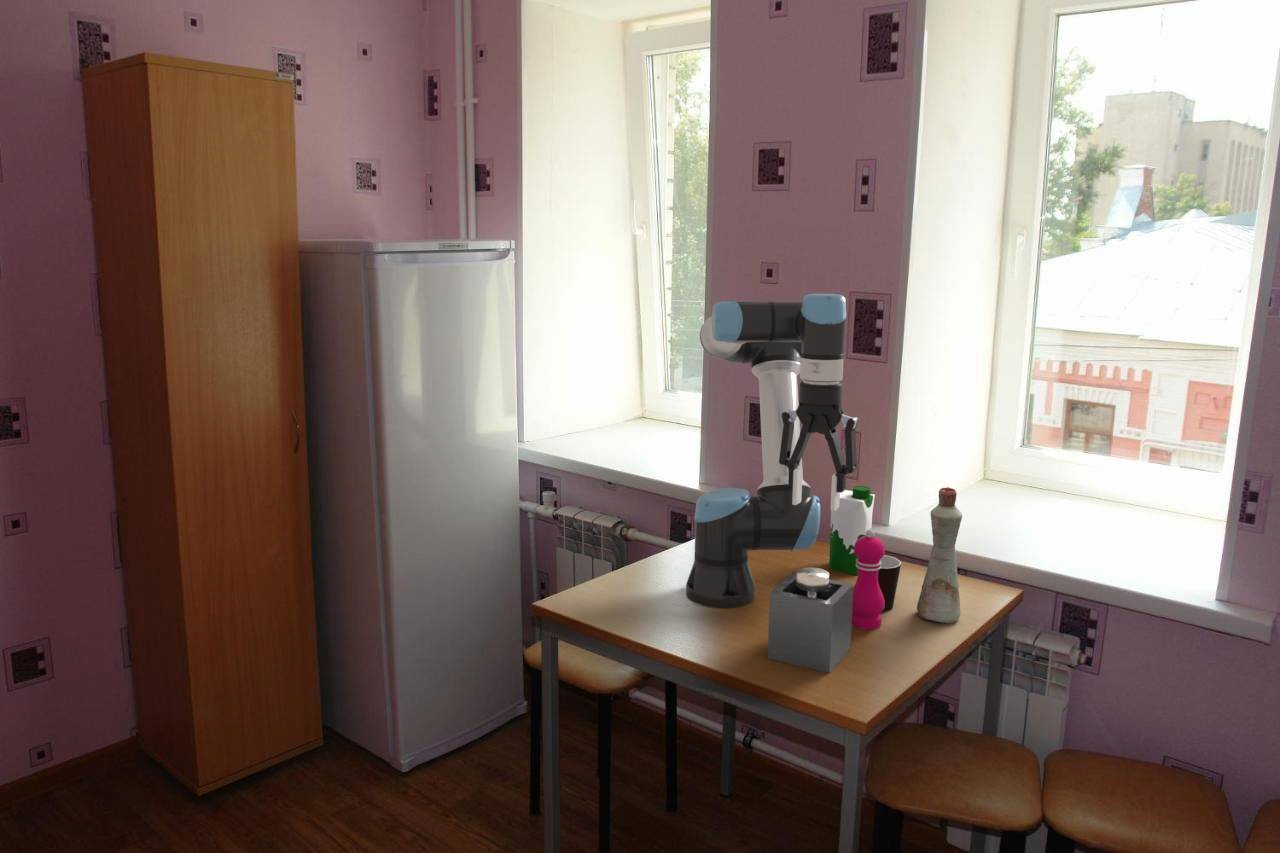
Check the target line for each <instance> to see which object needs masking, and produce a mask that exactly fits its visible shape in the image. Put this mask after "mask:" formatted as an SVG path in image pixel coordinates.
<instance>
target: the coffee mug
mask: <svg viewBox="0 0 1280 853" xmlns="http://www.w3.org/2000/svg"><path fill="white" fill-rule="evenodd" d="M880 561H881V569H879V572H878V583H879V587H880V589H881V592H882V594H883V597H884V601H885V607H884V610H883V611H882V612H881V613H884V612H889V611H892V610H893V609H894V603H895V598H896V593H897V588H898V582H899V579H900V574H901V573H900V572H901V566H902V562H901V560H899V559H898V558H896V557H894V556H889V555H885V554H884V556H883V557H882V558H881V559H880Z"/></svg>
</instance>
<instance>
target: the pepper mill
mask: <svg viewBox="0 0 1280 853" xmlns="http://www.w3.org/2000/svg"><path fill="white" fill-rule="evenodd" d="M885 551H886V550H885V545H884V543H883V541H882V540H881V539H880V538H878V537H876V536H875V531H874V529H872V528H871V529H869V530H867V531H866V536H864V537H861V538H859V539H858V540H857V541H856V543H855V546H854V553H855V555H856V556H857V559H856V567H857V568H858V575H857V577H856V581H855V583H854V585H853V604H852V623H851V627H854V628H857V629H860V630H876V629H879V628H881V626H882V616H881V613H883V612H882V611H883V610H884V607H885V601H884V597H883V594H882V592H881V589H880V587H879V583H878V572H879V569H881V561H880V559H881V558H882V557H883V556H884V555H885V553H886V552H885Z"/></svg>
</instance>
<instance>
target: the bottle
mask: <svg viewBox="0 0 1280 853" xmlns="http://www.w3.org/2000/svg"><path fill="white" fill-rule="evenodd" d="M957 494H958V492H957V490H956V489H954V488H952V487H948V486H947V487H942V488H940V489H939V490H938V504H937V505H936V506H935V507H934V508H932V509H931V511H930V512H929V514H930V521H931V522H930V523H931V534H932V544H933V545H932V548H931V551H930V556H929V559H928V562H927V566H926V572H925V574H924V575H925V576H924V579H923V582H922V583H923V584H922V585H921V591H920V594H919V597H918V600H917V605H916V611H917V615H918V616H919V617H920V618H922V619H924V620H929V621H932V622H937V623H941V624H949V625H951V624H952V623H954V622H955V623H956V622H957V621H958V620H959V619H960V617H961V615H962V614H961V613H962V612H961V601H960V600H961V599H960V589H959V588H960V584H959V583H960V582H959V578H958V565H957V554H956V553H957V552H956V543H957V542H956V541H957V540H958V539H957V538H958V535H959V530H960V526H961V522H962V519H963V513H962V512H961V511H960V509H959V507H957V505H956V501H957Z"/></svg>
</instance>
